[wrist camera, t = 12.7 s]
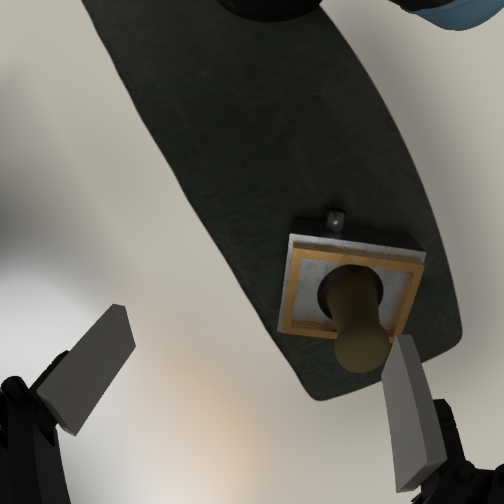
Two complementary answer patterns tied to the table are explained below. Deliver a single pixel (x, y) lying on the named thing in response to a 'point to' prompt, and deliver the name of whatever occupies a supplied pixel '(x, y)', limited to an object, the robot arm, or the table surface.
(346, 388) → the table surface
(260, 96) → the table surface
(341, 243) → the grey box with hole
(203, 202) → the table surface
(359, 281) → the cork
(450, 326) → the table surface
